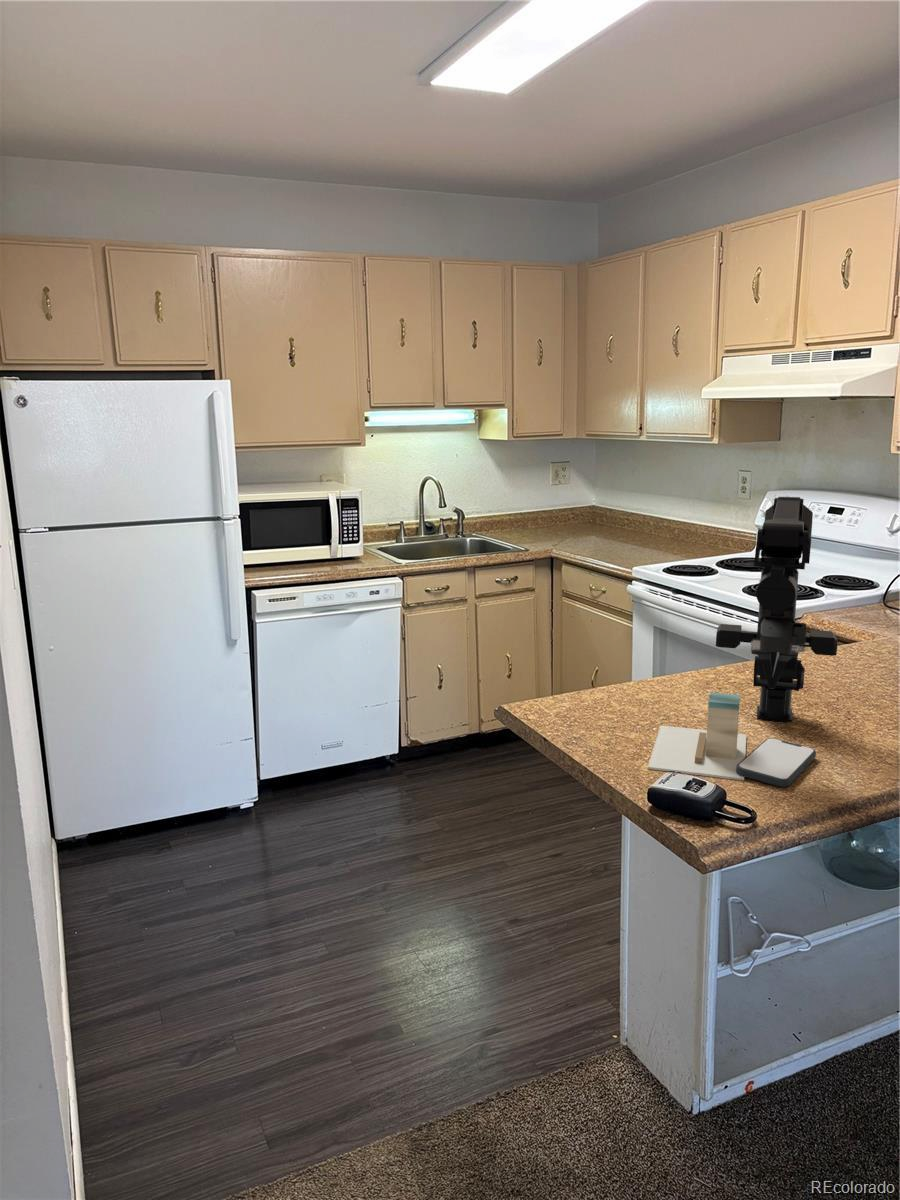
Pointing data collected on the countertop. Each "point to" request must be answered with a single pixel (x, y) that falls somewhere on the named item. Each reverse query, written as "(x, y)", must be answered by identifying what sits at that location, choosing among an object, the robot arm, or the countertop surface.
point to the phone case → (776, 762)
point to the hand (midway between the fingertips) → (771, 688)
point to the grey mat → (693, 754)
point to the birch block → (722, 725)
